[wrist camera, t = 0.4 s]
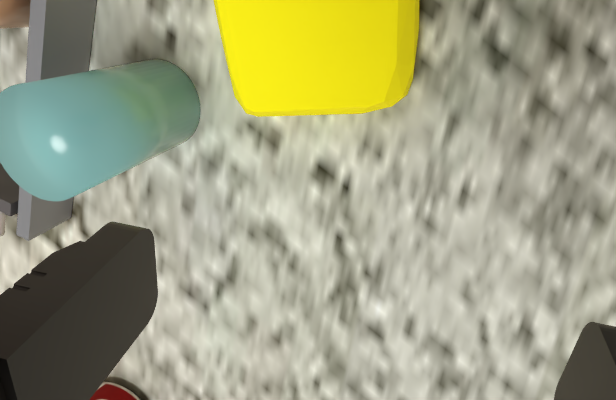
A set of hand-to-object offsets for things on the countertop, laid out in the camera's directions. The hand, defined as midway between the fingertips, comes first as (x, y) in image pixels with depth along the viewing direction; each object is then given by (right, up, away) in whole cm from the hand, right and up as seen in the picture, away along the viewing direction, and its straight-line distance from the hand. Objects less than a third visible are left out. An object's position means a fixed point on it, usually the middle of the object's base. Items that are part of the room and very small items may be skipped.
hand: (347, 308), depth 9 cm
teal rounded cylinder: (-10, +8, +22) cm, 26 cm away
